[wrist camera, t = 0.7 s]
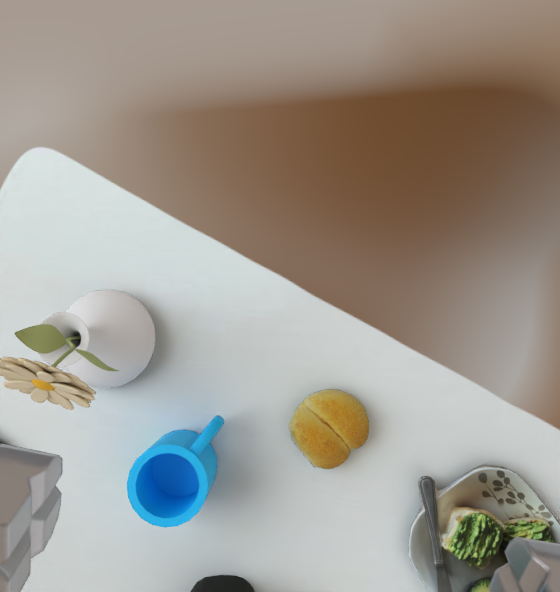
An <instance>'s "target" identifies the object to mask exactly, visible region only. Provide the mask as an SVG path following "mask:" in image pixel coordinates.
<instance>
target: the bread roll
mask: <svg viewBox="0 0 560 592" xmlns="http://www.w3.org/2000/svg"><path fill="white" fill-rule="evenodd" d="M289 431H290V435H291V439H292V441H293V442H294V443H295V444H296V446H297V447H298V449H299V450H300V451H301V452H302V453H303V455H304V456H305V457H306V458H307V459H308V460H309V462H310V463H311V464H312V465H313V467H320V468H324V469H331V468H334V467H337V466H339V465H341V464H342V463H344V461H345V460H346V459H347V458H348V456H349V454H350V451H351V450H352V449H356V448H359V447H360V446H362V445H363V444H364V443H365V442H366V440H367V437H368V432H369V420H368V417H367V414H366V411H365V409H364V407H363V405H362V404H361V402H359V401H358V399H356V398H355V397H354V396H352V395H351V394H348V393H346V392H343V391H340V390H336V389H329V390H321V391H318V392H315V393H313V394H311V395H309V396H308V397H307V398H306V399H305V400H304V401H303V402H302V403H301V404H300V405H299V406H298V407H297V408H296V410H295V411H294V413H293V415H292V417H291V420H290V423H289Z"/></svg>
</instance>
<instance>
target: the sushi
mask: <svg viewBox="0 0 560 592" xmlns="http://www.w3.org/2000/svg"><path fill="white" fill-rule="evenodd" d="M191 592H254V590H253V588H252V587H251V585H250V584H249V583H248V582H247V581H246V580H244V579H243V578H240V577H237V576H224V575H220V576H212V577H205V578H204V579H202V580H200V581H199V582H197V583H196V585H195V586H194V587H193V589H192V590H191Z"/></svg>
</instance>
